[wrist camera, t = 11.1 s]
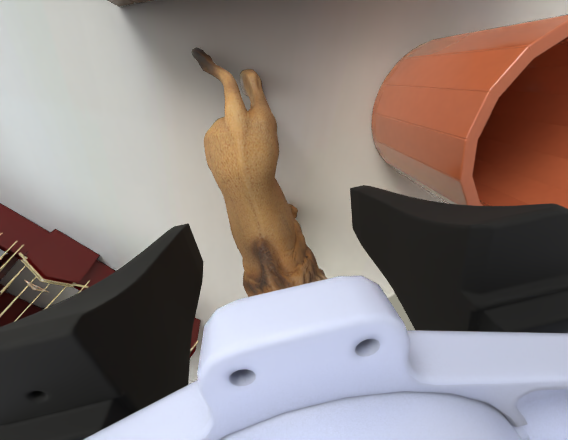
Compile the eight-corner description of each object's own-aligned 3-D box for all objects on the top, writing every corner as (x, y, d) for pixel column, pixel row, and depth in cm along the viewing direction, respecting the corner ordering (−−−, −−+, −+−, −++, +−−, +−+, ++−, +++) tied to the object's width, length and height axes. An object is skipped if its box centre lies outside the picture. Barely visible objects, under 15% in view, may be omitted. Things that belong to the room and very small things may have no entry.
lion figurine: (332, 247, 21) (389, 353, 13) (267, 276, 21) (284, 395, 13) (240, 26, 14) (242, -36, 6) (146, 74, 14) (31, 74, 6)
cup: (504, 25, 16) (722, -16, 9) (482, 160, 19) (621, 210, 12) (369, 52, 15) (479, 32, 8) (372, 185, 19) (450, 250, 12)
